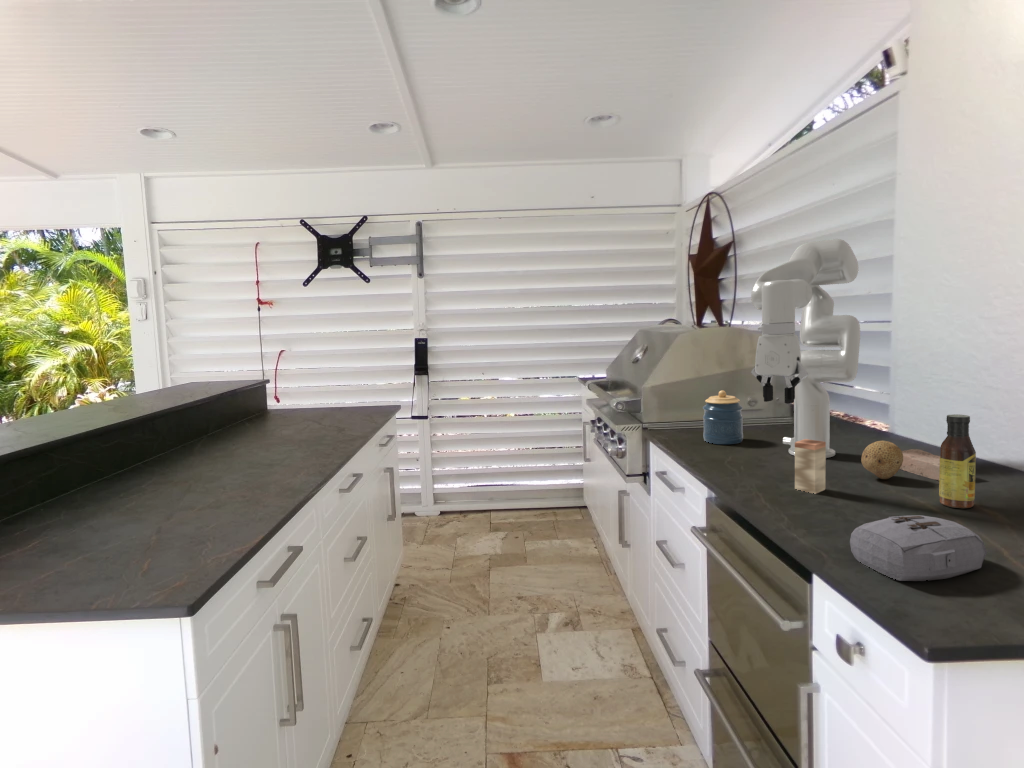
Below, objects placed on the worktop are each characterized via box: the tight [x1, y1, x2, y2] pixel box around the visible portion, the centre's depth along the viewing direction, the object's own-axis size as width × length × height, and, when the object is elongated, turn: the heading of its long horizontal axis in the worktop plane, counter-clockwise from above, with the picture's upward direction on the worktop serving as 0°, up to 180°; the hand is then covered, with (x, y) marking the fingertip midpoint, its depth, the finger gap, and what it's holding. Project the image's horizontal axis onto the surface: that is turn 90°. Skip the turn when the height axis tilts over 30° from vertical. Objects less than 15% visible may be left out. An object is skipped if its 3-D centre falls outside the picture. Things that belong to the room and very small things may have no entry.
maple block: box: [794, 439, 827, 495], centre depth 143 cm, size 5×5×12 cm
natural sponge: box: [860, 440, 903, 480], centre depth 148 cm, size 9×9×10 cm
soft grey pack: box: [849, 514, 988, 582], centre depth 101 cm, size 15×8×20 cm
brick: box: [899, 448, 940, 481], centre depth 152 cm, size 17×8×5 cm, turn 9°
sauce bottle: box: [938, 414, 977, 509], centre depth 127 cm, size 6×6×20 cm
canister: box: [702, 389, 744, 445], centre depth 200 cm, size 13×13×18 cm
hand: (778, 401), depth 148 cm, fingers open, 4 cm apart
